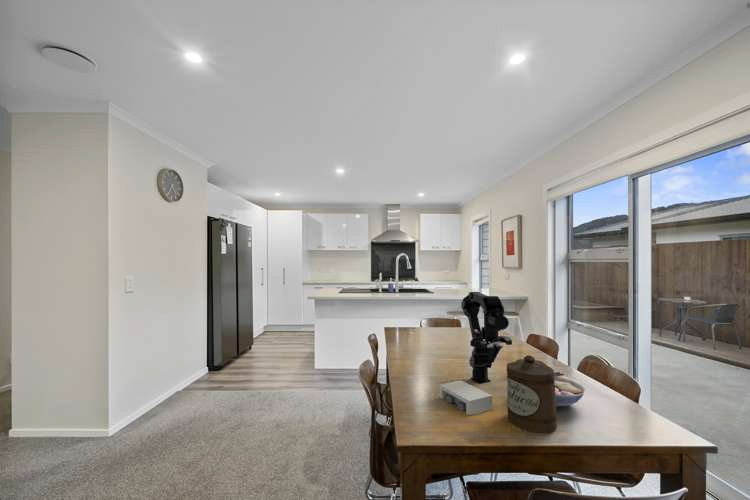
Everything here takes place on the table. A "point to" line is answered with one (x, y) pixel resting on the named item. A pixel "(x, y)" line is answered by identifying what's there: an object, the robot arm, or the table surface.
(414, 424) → the table surface
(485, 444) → the table surface
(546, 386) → the wooden container
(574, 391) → the ramen bowl
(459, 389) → the white box
